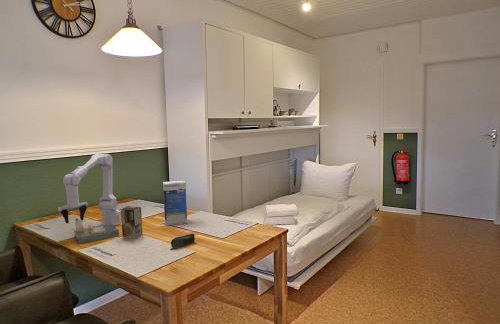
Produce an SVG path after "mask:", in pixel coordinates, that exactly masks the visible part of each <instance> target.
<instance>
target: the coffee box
mask: <svg viewBox="0 0 500 324" xmlns="http://www.w3.org/2000/svg"><path fill="white" fill-rule="evenodd" d="M142 217H143V216H142V207H141V206H130V205H129V206H125V207H122V208H120V223H121V233H122V238H124V239H125V238H126V239H127V238H128V239H135V240H137V239H138V238H140V237H142V236H143V220H142V219H143V218H142Z"/></svg>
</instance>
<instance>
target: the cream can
mask: <svg viewBox="0 0 500 324" xmlns="http://www.w3.org/2000/svg"><path fill="white" fill-rule="evenodd" d="M74 227H75V228H74V229H75V230H76V232H81V231H84V229H85V228H84V227H85V226H84V219H83V220H80V218H78V217H76V218H75V220H74Z"/></svg>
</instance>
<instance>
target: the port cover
mask: <svg viewBox="0 0 500 324" xmlns="http://www.w3.org/2000/svg"><path fill="white" fill-rule="evenodd" d="M87 226H88V227H87V228H88V231H89V232H90V234H95V233H100V232H106V230H105V229H104V228H103V227H97V226H95V227H96V228H93V227H94V226H92V224H88V225H87Z"/></svg>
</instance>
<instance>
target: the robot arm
mask: <svg viewBox="0 0 500 324" xmlns="http://www.w3.org/2000/svg"><path fill="white" fill-rule="evenodd" d="M113 160H114V159H113V156H112V155H111V154H109V153H94V154H93V155H91V157H90V158H89V160H88V161H87V162H86V163H85V164H83V165H79V166H76V168H75V169H74V170H73V171H71V172H70V173H67V174H66V175H64V177H63V179H62V180H61V181H62V183H63V184H64V188H65V190H66V191H65V194H66V204H65V205H61V206H58V207H57V209H58V212H60V213H61V215H62V217H63V219H64V222H65V223H66V224H69V222H70V221H69V220H70V219H69V211H68V210H71V209H76V208H78V210H79V219H80V220H83V221H84V218H85V213H86V211H87V209H88V206H89V203H88V201H82V202H80V198H79V197H80V196H79V184H81V180H82V179H83V178H84V177H85V176H86V175H87V174H88V171H89V170H90V169H92V168H94V167H95V166H98V167H100V168H101V169H102V196H100V197H99V202H98V209H99V210H100V211H101V212H102V213H101V214H102V222H101V223H100V224H101V226H103V225H108V224H113V225H114V226H119V225H121V215H120V211H119V209H117V208H118V200H117V197H116V196H115V195H114V194H113V189H114V187H113V179H114V178H113V176H114V175H113V174H114V173H113V168H114V167H113Z"/></svg>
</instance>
